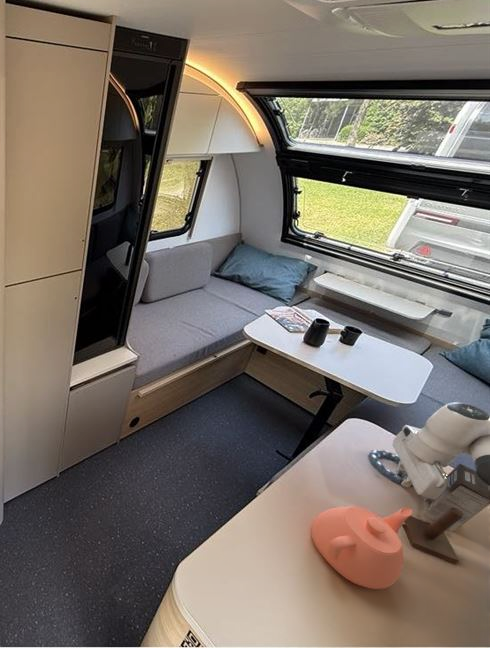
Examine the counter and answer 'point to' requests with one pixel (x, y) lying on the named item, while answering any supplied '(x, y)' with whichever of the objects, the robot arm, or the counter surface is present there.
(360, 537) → the teapot
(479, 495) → the coffee box
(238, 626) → the counter surface
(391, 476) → the ring
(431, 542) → the post
